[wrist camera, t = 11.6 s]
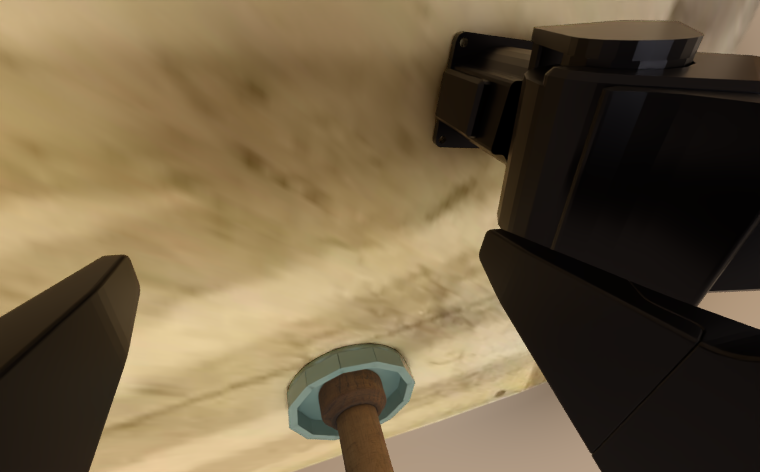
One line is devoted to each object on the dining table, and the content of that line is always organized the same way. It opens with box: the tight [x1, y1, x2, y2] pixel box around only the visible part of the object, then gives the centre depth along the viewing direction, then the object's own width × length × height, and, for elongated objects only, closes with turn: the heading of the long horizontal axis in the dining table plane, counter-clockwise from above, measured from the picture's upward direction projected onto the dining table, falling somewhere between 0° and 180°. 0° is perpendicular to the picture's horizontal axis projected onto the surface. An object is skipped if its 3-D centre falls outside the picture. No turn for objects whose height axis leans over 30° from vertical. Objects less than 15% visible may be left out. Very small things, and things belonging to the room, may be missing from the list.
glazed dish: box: [287, 344, 415, 440], centre depth 34 cm, size 13×13×2 cm
